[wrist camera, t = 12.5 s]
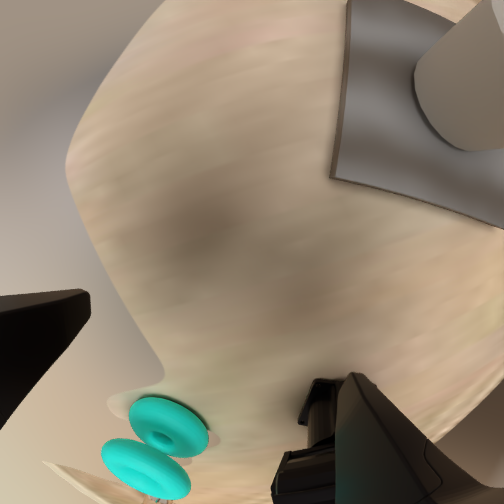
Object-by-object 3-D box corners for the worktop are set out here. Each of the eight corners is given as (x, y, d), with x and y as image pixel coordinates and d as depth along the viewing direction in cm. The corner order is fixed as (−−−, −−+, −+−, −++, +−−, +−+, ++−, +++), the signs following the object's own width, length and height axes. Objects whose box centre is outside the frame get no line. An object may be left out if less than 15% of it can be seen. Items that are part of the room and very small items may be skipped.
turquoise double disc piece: (158, 466, 16) (200, 510, 18) (194, 394, 25) (221, 447, 27) (80, 442, 18) (126, 491, 20) (123, 388, 27) (155, 440, 29)
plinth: (493, 226, 17) (513, 232, 14) (329, 178, 18) (335, 176, 15) (497, 68, 12) (513, 61, 9) (346, 4, 14) (351, -16, 11)
